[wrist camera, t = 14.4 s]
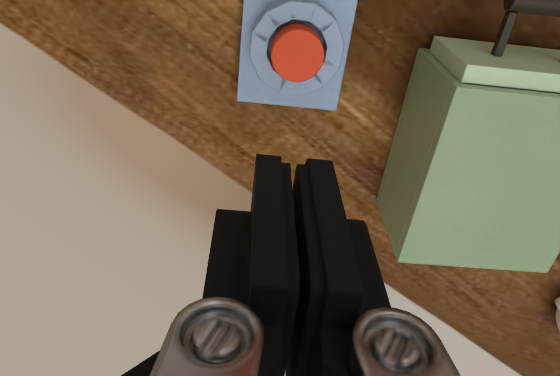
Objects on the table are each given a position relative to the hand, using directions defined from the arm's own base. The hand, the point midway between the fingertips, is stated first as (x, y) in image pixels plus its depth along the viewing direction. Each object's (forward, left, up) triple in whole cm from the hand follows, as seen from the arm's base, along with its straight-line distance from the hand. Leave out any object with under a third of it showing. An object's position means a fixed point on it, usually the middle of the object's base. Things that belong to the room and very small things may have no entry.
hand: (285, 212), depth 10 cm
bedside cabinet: (+10, +18, -27) cm, 34 cm away
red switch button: (+3, +2, -24) cm, 24 cm away
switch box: (+3, +2, -27) cm, 27 cm away
